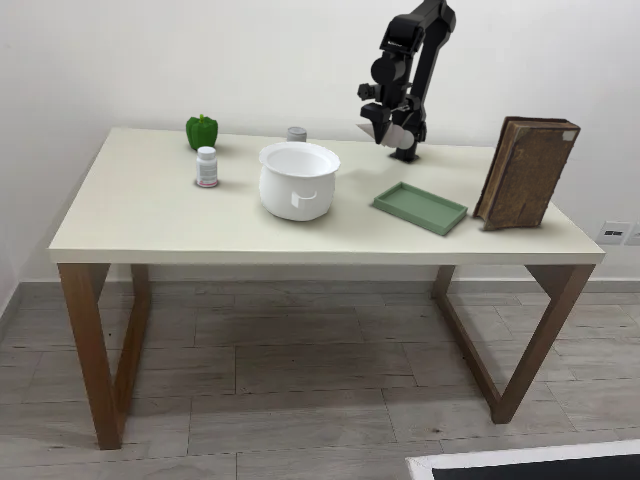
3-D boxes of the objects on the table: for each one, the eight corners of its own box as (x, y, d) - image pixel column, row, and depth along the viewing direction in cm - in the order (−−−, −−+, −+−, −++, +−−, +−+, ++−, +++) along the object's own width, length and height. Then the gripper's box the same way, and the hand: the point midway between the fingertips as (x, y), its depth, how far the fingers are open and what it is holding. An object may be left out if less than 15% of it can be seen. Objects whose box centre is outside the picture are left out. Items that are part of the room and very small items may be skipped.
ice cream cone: (349, 139, 123) (406, 157, 124) (354, 131, 117) (414, 150, 118) (356, 117, 124) (412, 134, 125) (360, 108, 118) (420, 126, 119)
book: (533, 216, 121) (572, 117, 107) (548, 232, 115) (591, 129, 102) (469, 215, 118) (501, 113, 104) (482, 231, 112) (517, 125, 98)
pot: (254, 184, 120) (256, 136, 113) (324, 186, 123) (330, 139, 116) (260, 233, 101) (262, 179, 95) (342, 233, 105) (350, 181, 98)
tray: (399, 188, 126) (400, 181, 125) (466, 215, 118) (468, 207, 117) (372, 205, 117) (374, 198, 116) (443, 235, 109) (445, 227, 107)
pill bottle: (221, 184, 118) (221, 151, 113) (204, 189, 115) (204, 155, 110) (209, 176, 120) (208, 144, 116) (192, 181, 117) (191, 148, 113)
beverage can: (305, 173, 128) (310, 129, 121) (298, 181, 124) (303, 135, 117) (288, 169, 129) (291, 125, 122) (281, 176, 125) (284, 131, 118)
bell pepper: (192, 140, 138) (191, 105, 132) (221, 145, 137) (221, 109, 132) (181, 151, 131) (179, 115, 125) (211, 156, 130) (211, 119, 125)
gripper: (388, 63, 124) (377, 123, 133) (345, 73, 111) (336, 139, 120) (427, 74, 119) (413, 136, 128) (387, 86, 106) (375, 154, 115)
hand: (385, 140), depth 123 cm, fingers closed on ice cream cone, 7 cm apart
